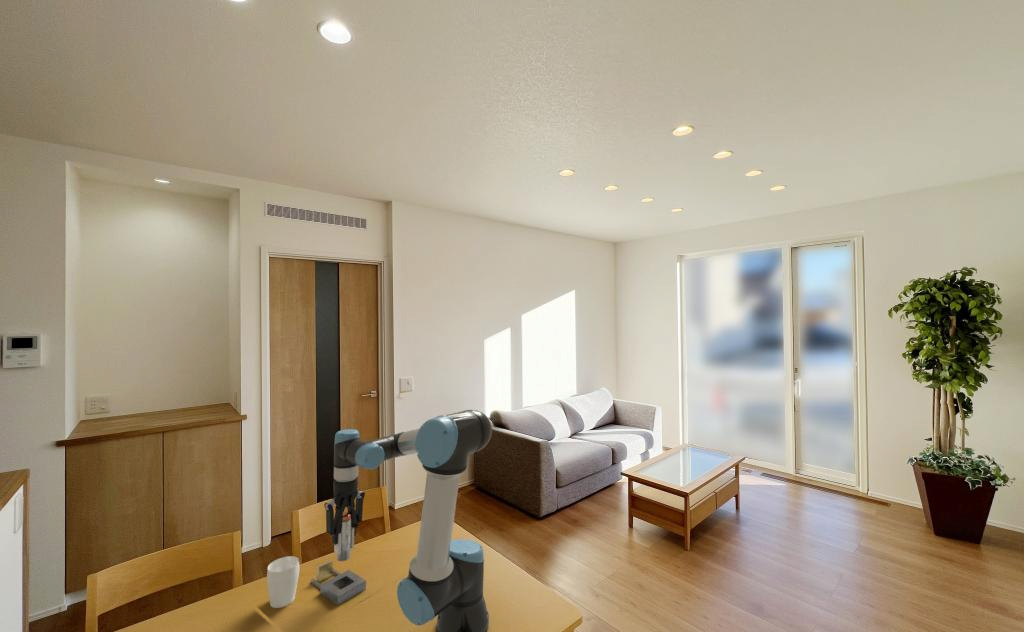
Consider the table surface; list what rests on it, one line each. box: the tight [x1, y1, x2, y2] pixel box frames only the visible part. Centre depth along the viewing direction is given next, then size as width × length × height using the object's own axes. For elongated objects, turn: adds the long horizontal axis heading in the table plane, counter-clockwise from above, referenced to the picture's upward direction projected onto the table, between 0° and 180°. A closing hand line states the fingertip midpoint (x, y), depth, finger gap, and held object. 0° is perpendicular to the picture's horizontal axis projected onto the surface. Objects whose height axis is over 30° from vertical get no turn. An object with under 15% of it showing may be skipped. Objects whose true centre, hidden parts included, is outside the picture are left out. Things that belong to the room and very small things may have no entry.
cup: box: [266, 555, 301, 609], centre depth 128 cm, size 9×9×12 cm
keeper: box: [315, 559, 334, 583], centre depth 140 cm, size 2×5×5 cm, turn 144°
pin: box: [336, 511, 352, 562], centre depth 134 cm, size 4×4×14 cm
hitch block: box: [310, 568, 367, 606], centre depth 136 cm, size 18×14×3 cm
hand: (344, 549), depth 133 cm, fingers closed on pin, 4 cm apart
